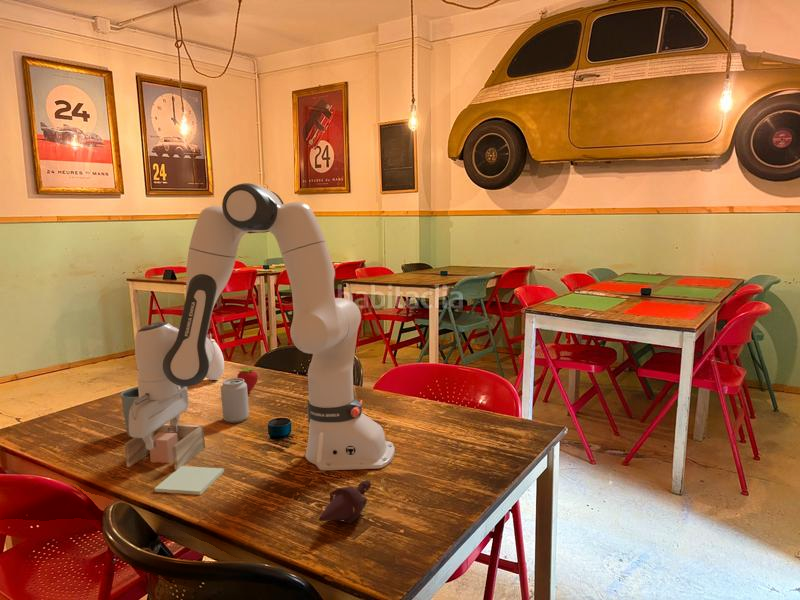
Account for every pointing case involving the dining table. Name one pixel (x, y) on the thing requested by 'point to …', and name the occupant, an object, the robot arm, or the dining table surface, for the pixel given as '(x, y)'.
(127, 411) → the grey cup
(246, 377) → the strawberry
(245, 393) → the can
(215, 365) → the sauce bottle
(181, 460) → the open box
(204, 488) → the green mat
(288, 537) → the dining table surface
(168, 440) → the block
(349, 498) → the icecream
